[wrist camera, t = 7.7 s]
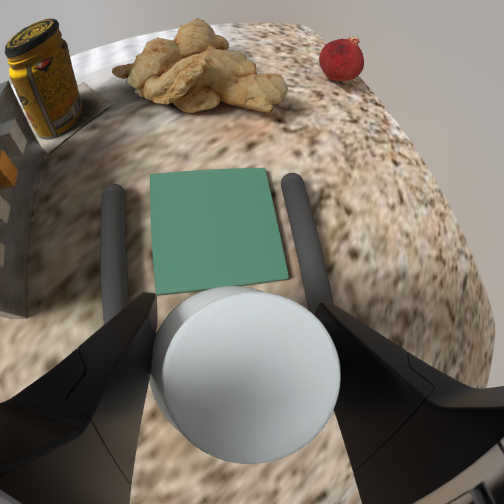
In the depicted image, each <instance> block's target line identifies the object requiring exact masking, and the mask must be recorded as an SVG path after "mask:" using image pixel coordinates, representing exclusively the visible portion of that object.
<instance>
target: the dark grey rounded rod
mask: <svg viewBox="0 0 504 504" xmlns="http://www.w3.org/2000/svg"><path fill="white" fill-rule="evenodd" d="M281 188H282V192H283V196H284V200H285V204H286V209H287V213H288V217H289V221H290V226H291V230H292V234H293V239H294V243H295V248H296V252H297V257H298V261H299V266H300V271H301V275H302V280H303V285H304V290H305V295H306V300H307V305H308V310H309V311H310V312H311V313H312V314H313V315H314V313H315V310H316V307H317V305H318V303H320V302H331V303H333V298H332V293H331V289H330V284H329V280H328V275H327V271H326V266H325V262H324V258H323V254H322V250H321V245H320V241H319V237H318V233H317V229H316V226H315V222H314V218H313V214H312V210H311V207H310V203H309V199H308V196H307V192H306V189H305V185H304V182H303V179H302V178H301V176H300V175H298V174H296V173H288V174H286V175H285V176H284V177H283V178H282V180H281ZM333 304H334V303H333Z"/></svg>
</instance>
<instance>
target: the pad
mask: <svg viewBox="0 0 504 504" xmlns="http://www.w3.org/2000/svg"><path fill="white" fill-rule="evenodd" d="M150 208H151V233H152V250H153V264H154V276H155V287H156V295H157V296H158V295H168V294H177V293H186V292H195V291H204V290H208V289H212V288H217V287H224V286H245V285H253V284H260V283H268V282H275V281H282V280H287V279H289V276H288V271H287V266H286V261H285V256H284V252H283V247H282V242H281V237H280V233H279V228H278V223H277V219H276V214H275V210H274V205H273V201H272V196H271V192H270V188H269V183H268V179H267V175H266V170H265V168H240V169H215V170H198V171H183V172H170V173H159V174H150Z"/></svg>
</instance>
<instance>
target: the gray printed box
mask: <svg viewBox="0 0 504 504" xmlns="http://www.w3.org/2000/svg"><path fill="white" fill-rule="evenodd" d="M43 155H44V151H43V149H42V147H41V145H40V144H39V142H38V140H37V138H36V136H35V134H34V133H33V131H32V129H31V127H30V125H29V123H28V121H27V119H26V117H25V115H24V113H23V111H22V109H21V107H20V105H19V103H18V101H17V98H16V96H15V94H14V92H13V90H12V87H11V85H10V83H9V81H6V82H4V83H1V84H0V316H1V317H5V318H9V319H19V318H27V300H26V284H27V258H28V244H29V234H30V225H31V217H32V210H33V204H34V197H35V192H36V186H37V181H38V177H39V172H40V167H41V163H42V159H43Z"/></svg>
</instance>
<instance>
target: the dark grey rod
mask: <svg viewBox="0 0 504 504" xmlns="http://www.w3.org/2000/svg"><path fill="white" fill-rule="evenodd" d="M125 211H126V194H125V190H124V189H123V188H122V187H121V186H120V185H118V184H111V185H109V186H107V187H106V188H105V189H104V191H103V193H102V204H101V229H100V267H101V292H102V307H103V319H104V325H105V324H106V323H107V322H108V321H109V320H111V319H112V318H113V317H114V316H115V315H116V314H118V313H119V312H120V311H121V310H122V309H124V308H125V307H126V306H127V305H128V304H129V294H128V281H127V263H126V228H125Z"/></svg>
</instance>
